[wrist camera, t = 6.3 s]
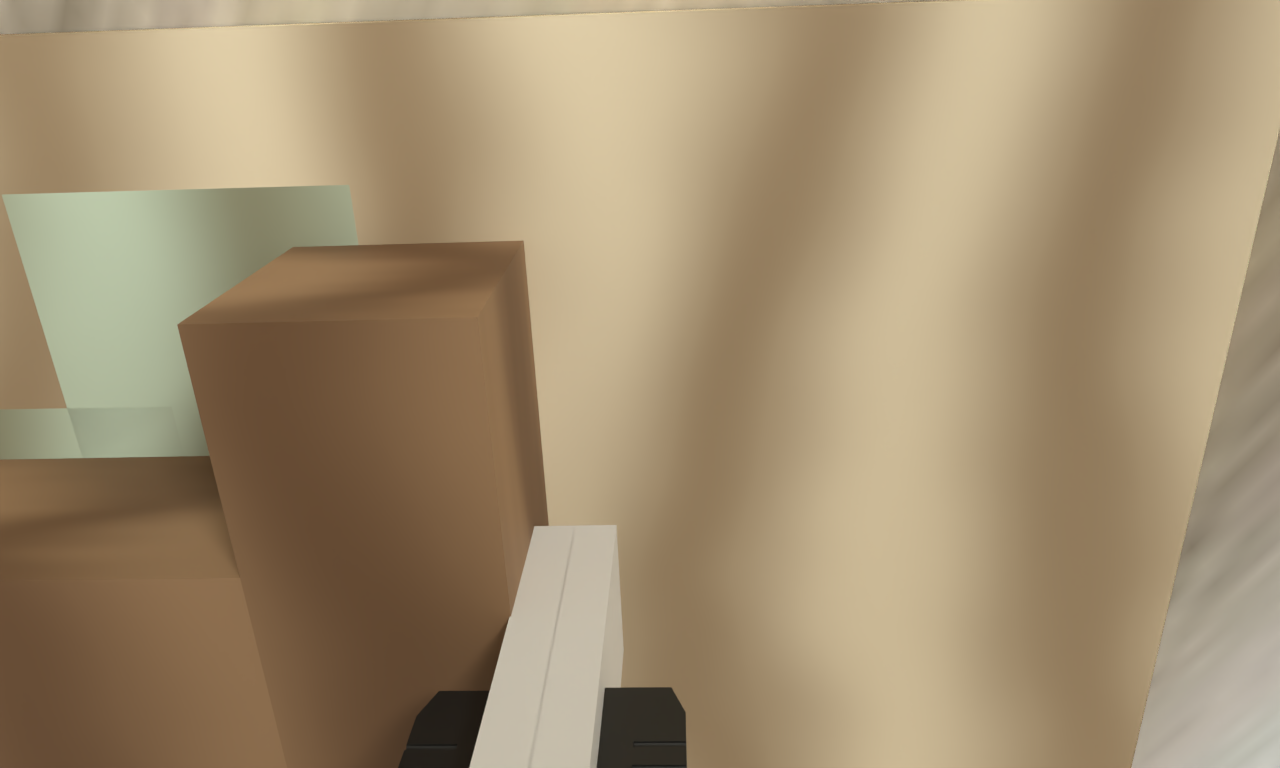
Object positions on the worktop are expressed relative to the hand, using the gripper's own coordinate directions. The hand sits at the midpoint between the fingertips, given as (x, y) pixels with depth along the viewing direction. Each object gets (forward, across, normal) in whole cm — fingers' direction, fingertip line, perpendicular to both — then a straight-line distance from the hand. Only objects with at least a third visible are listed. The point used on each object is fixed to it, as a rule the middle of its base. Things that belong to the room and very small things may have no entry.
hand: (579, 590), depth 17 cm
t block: (+2, -7, 0) cm, 7 cm away
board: (+3, -4, 0) cm, 5 cm away
